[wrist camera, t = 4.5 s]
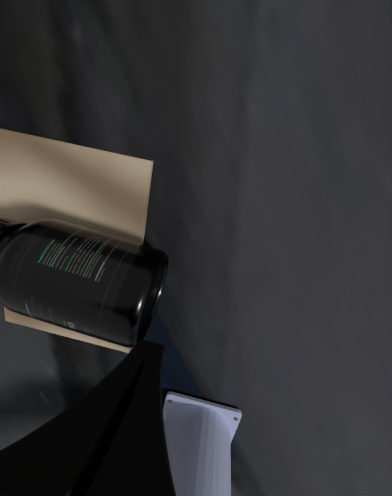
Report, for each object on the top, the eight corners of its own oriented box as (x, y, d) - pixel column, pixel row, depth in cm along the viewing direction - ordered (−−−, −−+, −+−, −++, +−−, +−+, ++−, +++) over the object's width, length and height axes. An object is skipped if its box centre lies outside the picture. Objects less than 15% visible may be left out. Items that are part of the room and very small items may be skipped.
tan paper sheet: (130, 349, 23) (128, 352, 23) (9, 317, 24) (5, 320, 24) (153, 161, 17) (151, 161, 16) (-14, 125, 17) (-20, 124, 17)
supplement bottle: (137, 359, 17) (-16, 311, 17) (167, 279, 21) (42, 241, 21) (130, 335, 11) (-97, 264, 12) (172, 232, 15) (2, 182, 16)
